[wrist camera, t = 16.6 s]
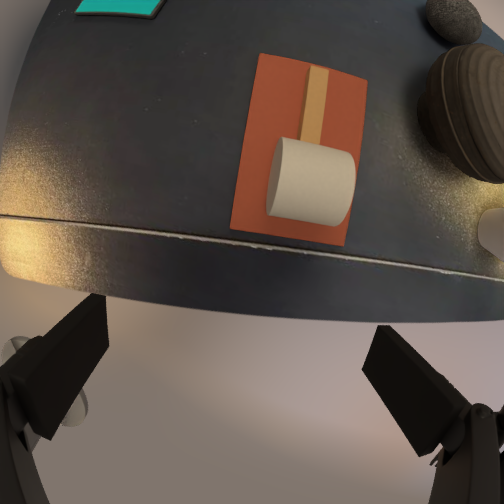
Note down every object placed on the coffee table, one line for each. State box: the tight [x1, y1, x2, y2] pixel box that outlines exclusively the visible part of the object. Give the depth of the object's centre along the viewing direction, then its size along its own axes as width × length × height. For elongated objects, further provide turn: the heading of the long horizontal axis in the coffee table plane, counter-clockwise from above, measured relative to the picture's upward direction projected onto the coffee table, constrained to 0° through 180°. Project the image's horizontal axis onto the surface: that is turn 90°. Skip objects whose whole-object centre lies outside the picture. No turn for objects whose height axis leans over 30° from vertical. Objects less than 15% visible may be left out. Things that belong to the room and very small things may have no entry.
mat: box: [230, 53, 368, 246], centre depth 31 cm, size 22×14×1 cm, turn 171°
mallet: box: [266, 65, 356, 227], centre depth 26 cm, size 18×7×8 cm, turn 171°
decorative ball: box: [426, 0, 482, 45], centre depth 22 cm, size 10×10×10 cm
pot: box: [417, 43, 504, 184], centre depth 21 cm, size 18×18×20 cm
